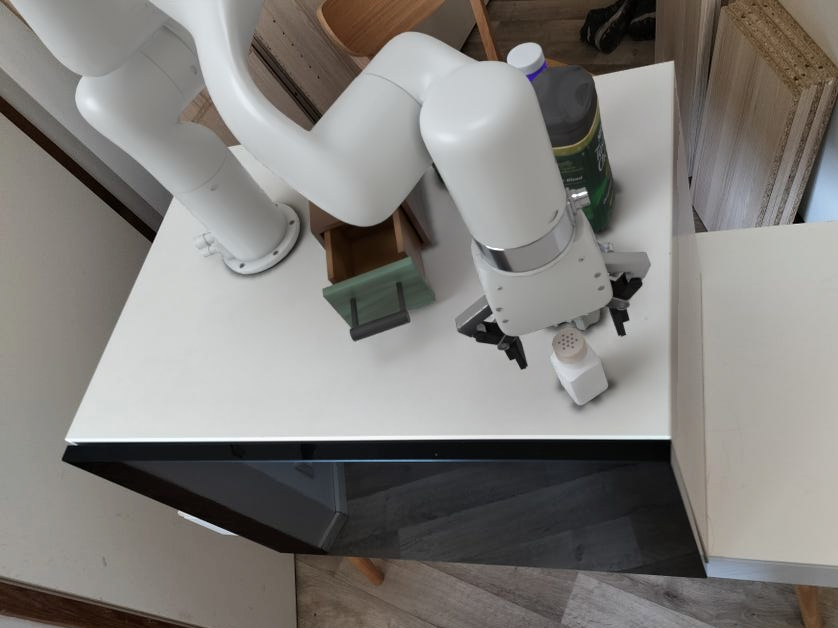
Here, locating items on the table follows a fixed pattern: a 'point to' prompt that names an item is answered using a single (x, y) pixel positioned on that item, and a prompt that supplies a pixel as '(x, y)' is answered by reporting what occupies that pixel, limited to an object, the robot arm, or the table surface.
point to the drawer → (376, 274)
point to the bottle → (527, 59)
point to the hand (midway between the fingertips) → (569, 340)
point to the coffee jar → (577, 136)
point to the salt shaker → (577, 366)
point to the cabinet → (411, 204)
